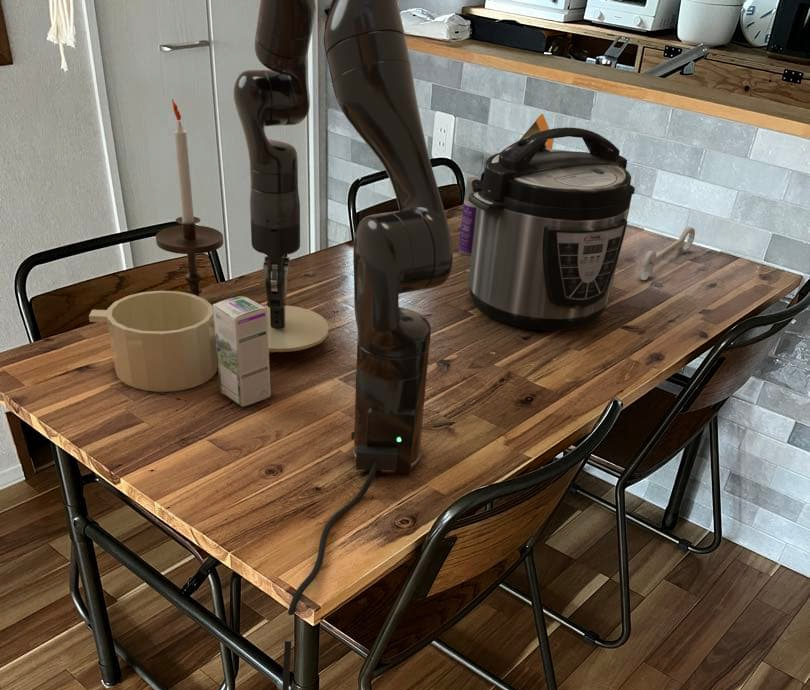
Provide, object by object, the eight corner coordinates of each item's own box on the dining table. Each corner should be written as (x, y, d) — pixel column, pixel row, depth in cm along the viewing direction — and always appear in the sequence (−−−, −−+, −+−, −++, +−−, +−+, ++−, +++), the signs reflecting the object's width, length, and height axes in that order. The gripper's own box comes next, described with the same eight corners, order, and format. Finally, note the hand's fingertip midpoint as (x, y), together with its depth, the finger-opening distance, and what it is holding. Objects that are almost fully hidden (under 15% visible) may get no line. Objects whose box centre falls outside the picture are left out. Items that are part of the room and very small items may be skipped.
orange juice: (507, 204, 213) (519, 117, 200) (515, 194, 219) (527, 110, 207) (538, 209, 211) (552, 122, 199) (544, 199, 218) (558, 115, 205)
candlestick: (179, 336, 143) (154, 109, 121) (156, 311, 150) (129, 93, 128) (238, 324, 148) (225, 104, 126) (213, 301, 155) (196, 89, 133)
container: (456, 253, 183) (464, 180, 173) (461, 246, 186) (469, 175, 177) (477, 256, 182) (486, 184, 173) (482, 249, 185) (491, 178, 176)
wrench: (645, 284, 175) (652, 256, 172) (635, 282, 176) (642, 253, 173) (690, 250, 194) (698, 224, 190) (681, 248, 195) (689, 222, 191)
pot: (229, 394, 128) (224, 336, 123) (87, 389, 127) (76, 330, 121) (239, 348, 141) (236, 293, 135) (110, 343, 139) (101, 287, 133)
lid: (327, 357, 135) (328, 321, 131) (221, 353, 133) (218, 316, 129) (329, 313, 148) (330, 279, 144) (232, 309, 146) (230, 274, 142)
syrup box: (272, 396, 129) (269, 306, 120) (240, 408, 125) (234, 316, 116) (250, 382, 132) (245, 293, 123) (218, 393, 128) (211, 302, 119)
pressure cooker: (453, 330, 152) (474, 140, 132) (460, 272, 174) (479, 103, 154) (620, 347, 151) (666, 159, 131) (606, 287, 173) (643, 118, 153)
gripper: (254, 201, 134) (258, 305, 145) (246, 231, 123) (251, 341, 134) (301, 204, 134) (302, 307, 145) (297, 234, 124) (299, 343, 134)
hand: (278, 323), depth 139 cm, fingers closed on lid, 2 cm apart
